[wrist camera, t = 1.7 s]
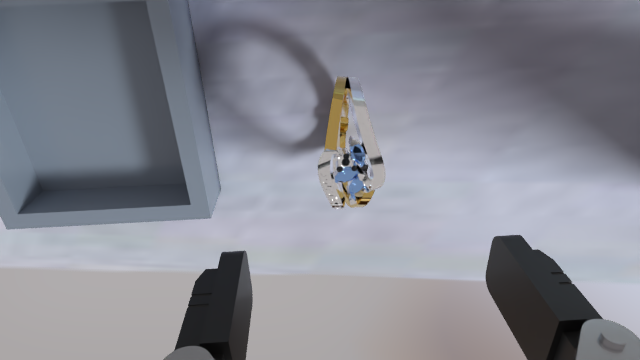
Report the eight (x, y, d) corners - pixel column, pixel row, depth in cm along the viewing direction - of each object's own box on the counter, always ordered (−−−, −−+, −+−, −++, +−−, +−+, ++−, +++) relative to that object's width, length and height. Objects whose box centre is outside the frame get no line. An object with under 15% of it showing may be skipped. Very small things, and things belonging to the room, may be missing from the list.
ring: (318, 60, 24) (325, 103, 17) (373, 64, 24) (402, 109, 17) (309, 167, 27) (312, 241, 20) (357, 170, 28) (376, 244, 21)
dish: (182, -29, 22) (162, -26, 19) (220, 189, 28) (211, 218, 25) (-52, -18, 21) (-111, -13, 18) (39, 198, 28) (6, 229, 25)
